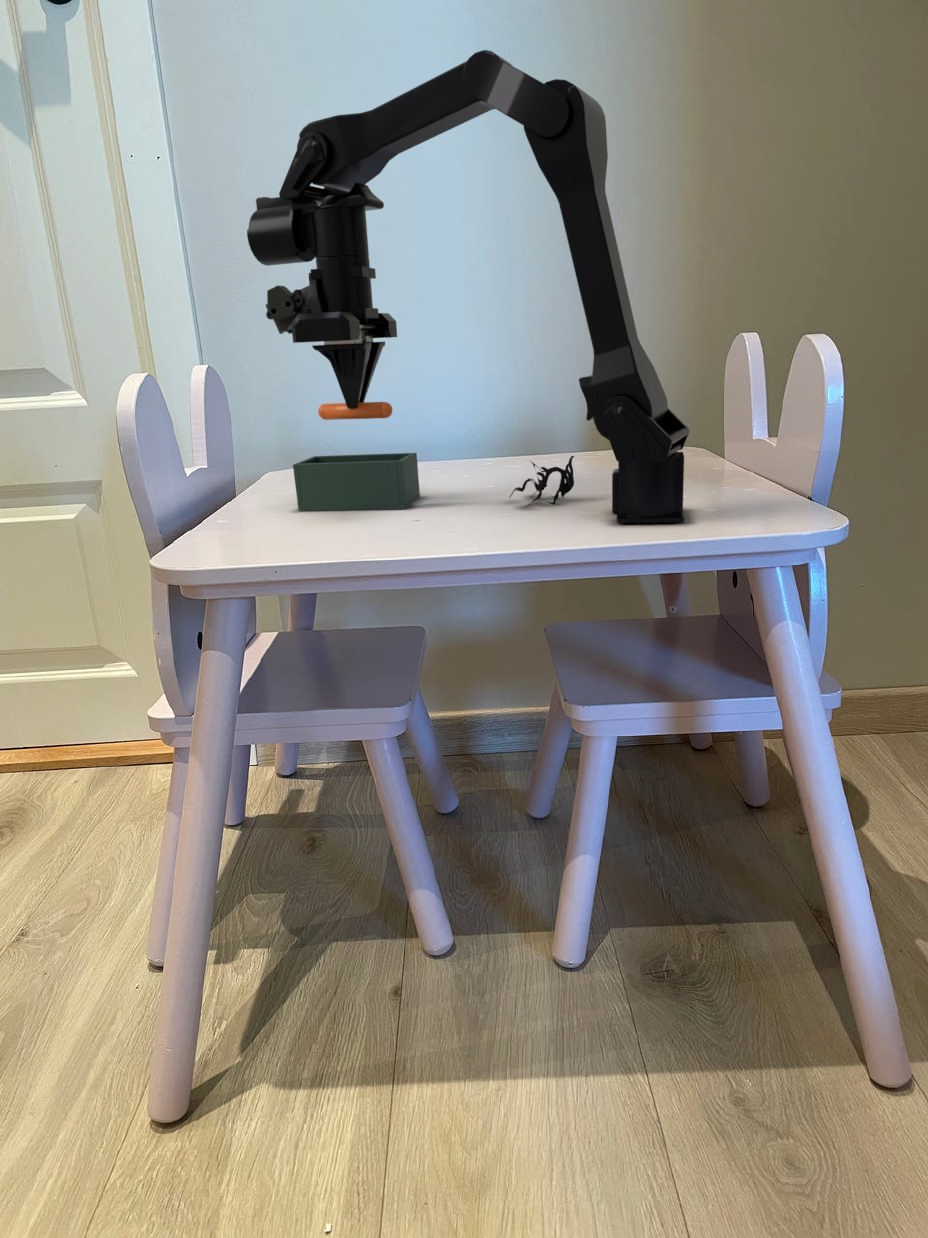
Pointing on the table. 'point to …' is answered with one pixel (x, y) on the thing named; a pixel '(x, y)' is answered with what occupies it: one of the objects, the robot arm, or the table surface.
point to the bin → (357, 482)
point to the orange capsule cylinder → (355, 411)
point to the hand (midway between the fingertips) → (355, 407)
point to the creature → (542, 484)
